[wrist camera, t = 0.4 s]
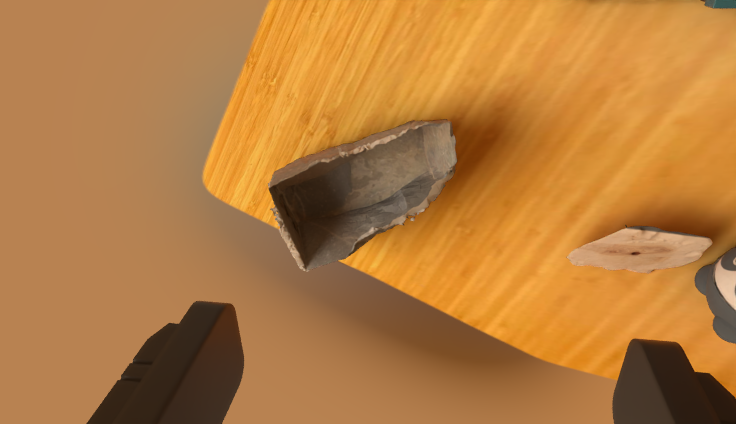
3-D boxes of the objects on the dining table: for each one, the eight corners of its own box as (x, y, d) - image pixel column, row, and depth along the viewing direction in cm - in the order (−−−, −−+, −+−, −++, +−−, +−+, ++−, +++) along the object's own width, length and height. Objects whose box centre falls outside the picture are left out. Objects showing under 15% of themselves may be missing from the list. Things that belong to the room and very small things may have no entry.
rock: (674, 180, 45) (545, 223, 52) (685, 216, 43) (550, 255, 51) (714, 224, 52) (595, 257, 59) (725, 257, 50) (601, 286, 58)
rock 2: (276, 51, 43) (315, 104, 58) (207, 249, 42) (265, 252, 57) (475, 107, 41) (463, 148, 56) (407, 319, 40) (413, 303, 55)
